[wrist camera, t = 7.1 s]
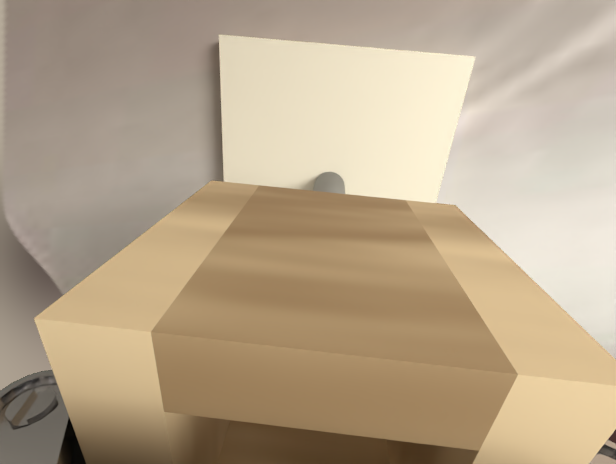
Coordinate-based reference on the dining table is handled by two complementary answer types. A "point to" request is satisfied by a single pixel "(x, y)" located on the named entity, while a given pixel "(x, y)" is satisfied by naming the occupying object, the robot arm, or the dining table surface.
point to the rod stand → (339, 116)
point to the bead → (323, 341)
